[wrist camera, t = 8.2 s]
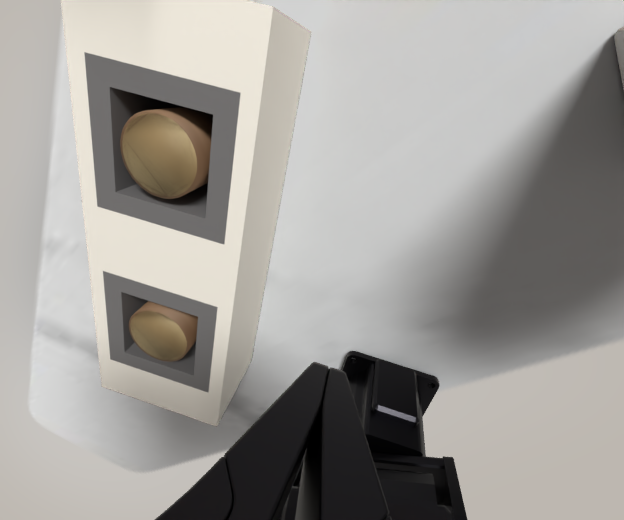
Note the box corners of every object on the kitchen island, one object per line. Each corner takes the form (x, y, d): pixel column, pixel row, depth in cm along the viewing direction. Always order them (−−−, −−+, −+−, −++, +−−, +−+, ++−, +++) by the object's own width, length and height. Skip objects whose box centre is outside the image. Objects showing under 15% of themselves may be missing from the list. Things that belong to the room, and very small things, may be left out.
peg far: (229, 312, 25) (186, 369, 20) (182, 297, 25) (129, 350, 20) (234, 270, 23) (190, 320, 18) (184, 254, 24) (127, 300, 19)
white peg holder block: (251, 361, 27) (217, 426, 22) (157, 330, 28) (101, 386, 23) (311, 31, 17) (273, 6, 11) (158, -5, 17) (56, -45, 12)
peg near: (246, 177, 20) (196, 208, 15) (188, 161, 21) (122, 186, 16) (254, 113, 19) (202, 122, 14) (192, 96, 19) (118, 100, 14)
